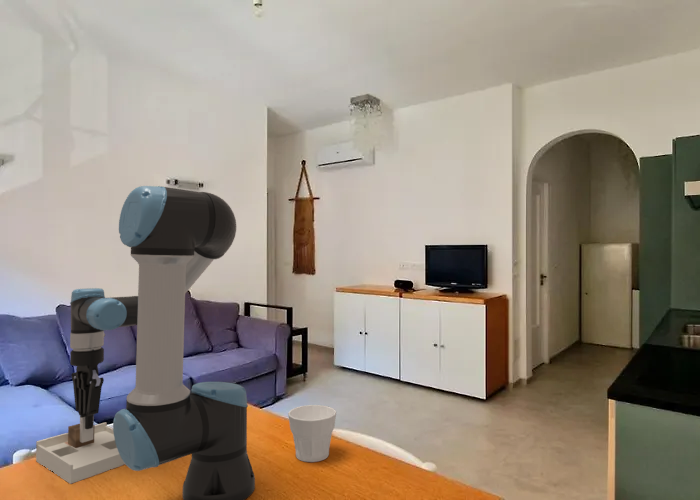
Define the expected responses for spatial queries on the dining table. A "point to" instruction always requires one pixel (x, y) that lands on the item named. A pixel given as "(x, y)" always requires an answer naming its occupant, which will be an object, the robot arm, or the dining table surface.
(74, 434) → the block
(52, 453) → the tray
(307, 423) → the cup
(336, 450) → the dining table surface
